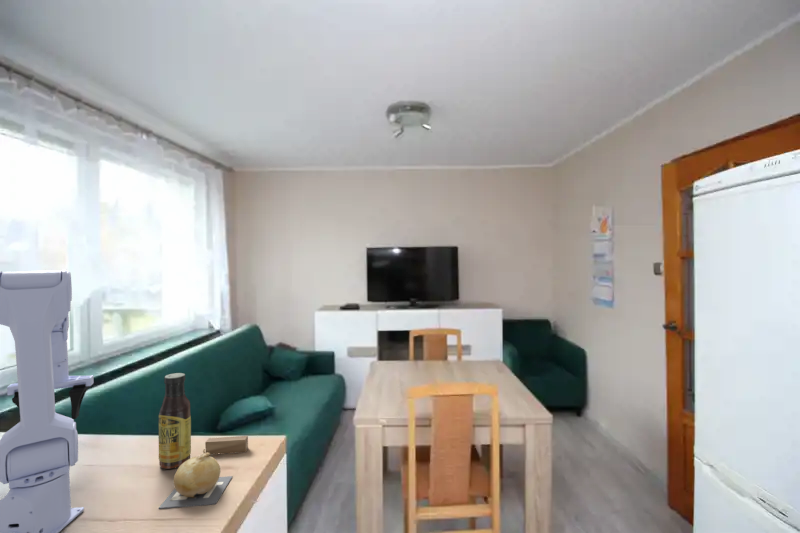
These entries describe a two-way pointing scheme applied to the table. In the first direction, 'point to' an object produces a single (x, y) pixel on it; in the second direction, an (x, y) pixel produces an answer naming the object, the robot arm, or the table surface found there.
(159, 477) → the table surface
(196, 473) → the onion
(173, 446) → the sauce bottle
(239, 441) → the rail
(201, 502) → the card
